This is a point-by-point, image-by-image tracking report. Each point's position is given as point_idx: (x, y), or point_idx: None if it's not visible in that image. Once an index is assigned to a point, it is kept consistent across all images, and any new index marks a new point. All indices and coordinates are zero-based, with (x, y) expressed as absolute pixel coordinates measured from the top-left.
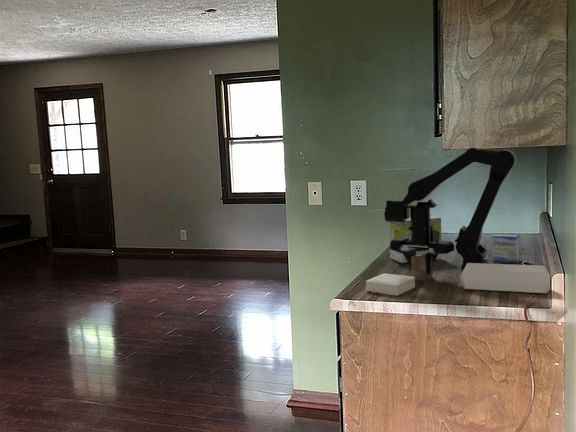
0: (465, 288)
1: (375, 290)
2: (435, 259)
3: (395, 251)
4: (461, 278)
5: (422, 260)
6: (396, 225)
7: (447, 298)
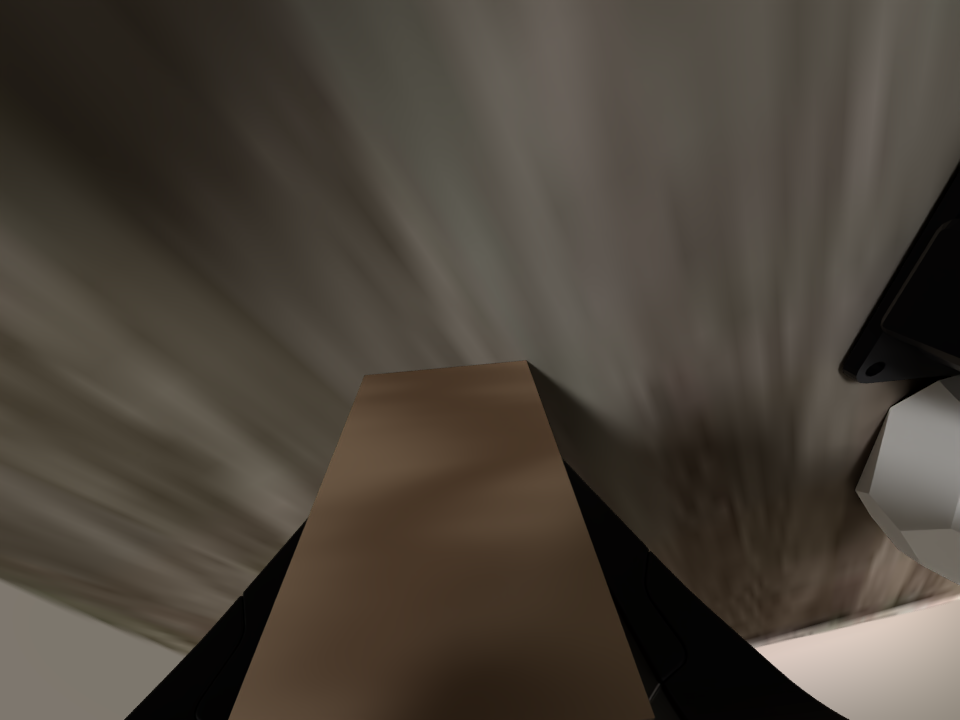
0: (869, 512)
1: None
2: (721, 632)
3: None
4: (916, 561)
5: None
6: None
7: (756, 609)
